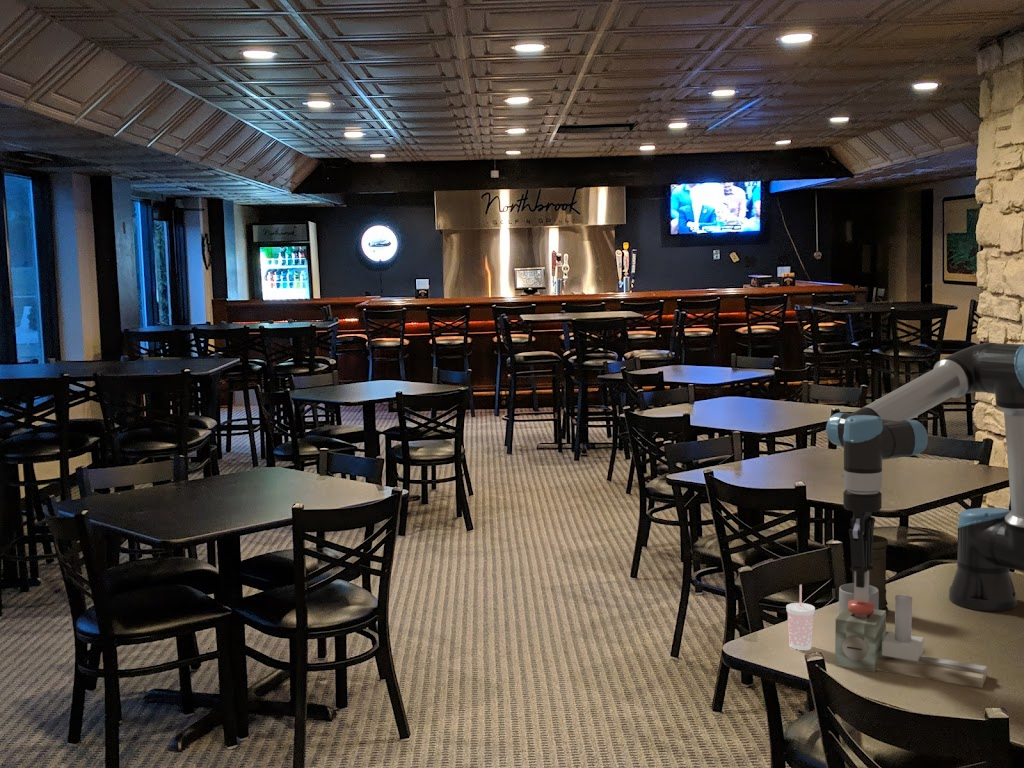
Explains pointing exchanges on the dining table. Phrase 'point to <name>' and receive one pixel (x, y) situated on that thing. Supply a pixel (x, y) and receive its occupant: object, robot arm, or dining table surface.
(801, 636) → the beverage cup
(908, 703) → the dining table surface
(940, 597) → the dining table surface
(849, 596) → the mug
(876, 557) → the container
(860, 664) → the rail rig
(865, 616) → the button
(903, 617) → the carriage
